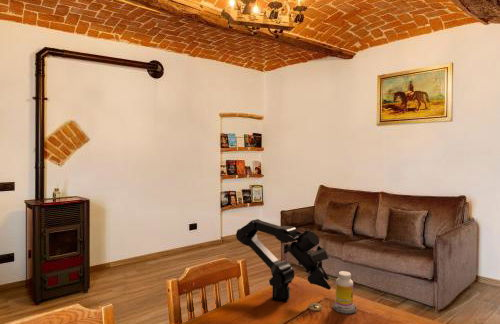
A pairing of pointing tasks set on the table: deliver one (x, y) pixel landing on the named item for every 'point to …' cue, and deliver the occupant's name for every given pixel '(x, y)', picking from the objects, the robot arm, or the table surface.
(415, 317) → the table surface
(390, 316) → the table surface
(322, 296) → the table surface
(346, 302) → the supplement bottle
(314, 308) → the small brass flange
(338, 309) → the flange pad
